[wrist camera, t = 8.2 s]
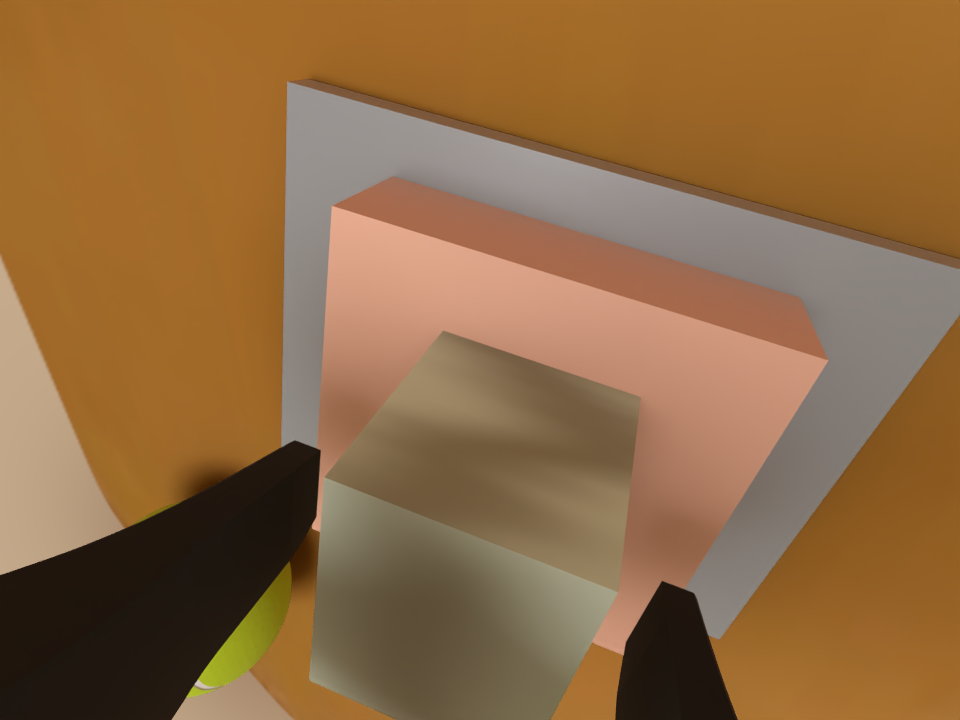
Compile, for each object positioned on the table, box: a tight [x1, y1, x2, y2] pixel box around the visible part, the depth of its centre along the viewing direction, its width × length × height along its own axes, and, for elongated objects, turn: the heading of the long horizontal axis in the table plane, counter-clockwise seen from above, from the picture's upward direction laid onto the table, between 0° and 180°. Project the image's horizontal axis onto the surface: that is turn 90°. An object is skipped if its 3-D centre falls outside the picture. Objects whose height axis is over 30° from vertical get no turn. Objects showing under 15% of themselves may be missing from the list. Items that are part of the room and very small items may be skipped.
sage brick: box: [309, 331, 641, 720], centre depth 12 cm, size 4×6×5 cm
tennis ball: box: [135, 502, 292, 698], centre depth 22 cm, size 7×7×7 cm
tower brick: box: [312, 176, 829, 655], centre depth 15 cm, size 10×10×3 cm
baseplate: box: [281, 79, 960, 639], centre depth 17 cm, size 16×13×1 cm
